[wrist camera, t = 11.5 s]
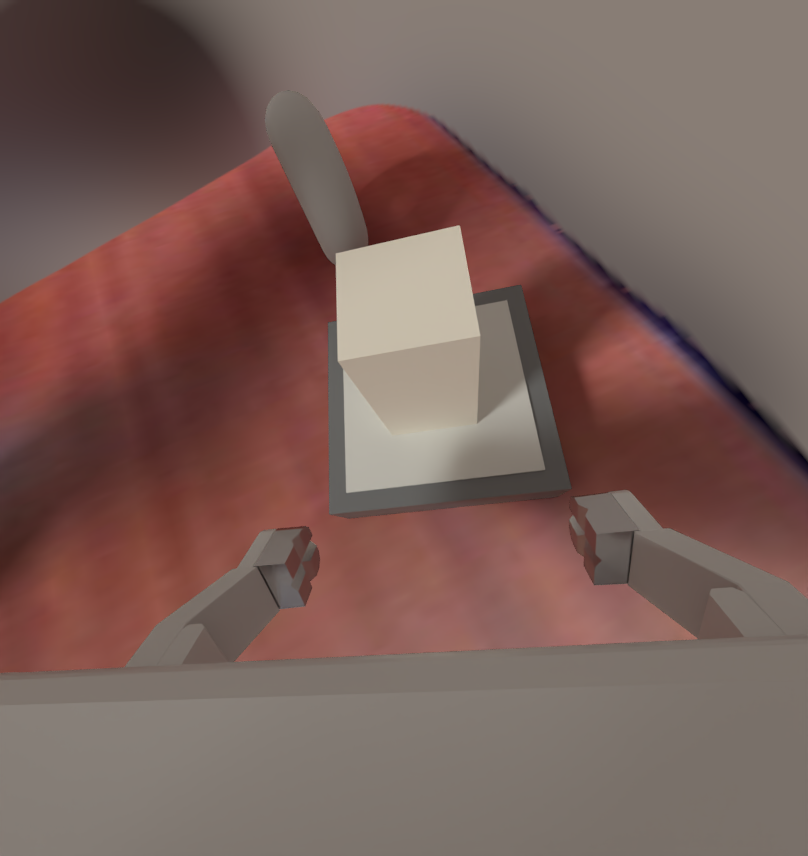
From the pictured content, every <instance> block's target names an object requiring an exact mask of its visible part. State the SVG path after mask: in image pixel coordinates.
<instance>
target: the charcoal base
mask: <svg viewBox="0 0 808 856" xmlns="http://www.w3.org/2000/svg"><path fill="white" fill-rule="evenodd" d="M473 299H474V304H475V309H476V315H477V320H478V325H479V331H480V361H479V386H478V412H477V424H472V425H465V426H458V427H451V428H444V429H436V430H429V431H422V432H415V433H408V434H401V435H393V436H392V434H391V433H390V432H389V430H388V429H387V427H386V426H385V425H384V423H383V422H382V421H381V419H380V418H379V417H378V415H377V414H376V413H375V411H374V410H373V409H372V407H371V406H370V404H369V403H368V402H367V400H366V399H365V398H364V396H363V395H362V394H361V392H360V391H359V390H358V388H357V387H356V385H355V384H354V383H353V381H352V380H351V379H350V377H349V376H348V375H347V373H346V372H345V371H344V369H343V368H342V367H341V365H340V364H339V362H338V352H337V321H333V322H328V400H329V514H330V515H334V516H339V517H344V518H358V517H368V516H377V515H387V514H397V513H406V512H416V511H426V510H435V509H445V508H455V507H464V506H474V505H484V504H493V503H503V502H513V501H522V500H532V499H542V498H551V497H558V496H559V495H561V494H563V493H565V492H567V491H568V490H570V489H572V488H571V484H570V480H569V476H568V472H567V468H566V464H565V459H564V455H563V451H562V447H561V443H560V439H559V435H558V431H557V427H556V423H555V419H554V415H553V411H552V407H551V403H550V399H549V395H548V391H547V387H546V383H545V379H544V375H543V371H542V367H541V363H540V359H539V355H538V351H537V347H536V343H535V339H534V335H533V331H532V326H531V322H530V318H529V314H528V310H527V306H526V302H525V298H524V294H523V290H522V286H521V285H517V286H512V287H507V288H502V289H497V290H491V291H486V292H481V293H476V294H473Z"/></svg>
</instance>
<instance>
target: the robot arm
mask: <svg viewBox="0 0 808 856" xmlns="http://www.w3.org/2000/svg"><path fill="white" fill-rule="evenodd" d="M569 508H570V510H571V512H572V514H573V516H572V517H571V518H570V520H569V529H570V535H571V539H572V542H573V545H574V547H575V549H576V551H577V553H579V554H580V555H582V556H583V557H584V567H585V569H586V571H587V573H588V575H589V577H590V579H591V581H592V583H593V584H594V585H610V584H628V585H629V586H630V587H631V588H632V589H634V590H635V591H636V592H638V593H639V594H640V595H642V596H643V597H644V598H646V599H647V600H648V601H649V602H651V603H652V604H653V605H655V606H656V607H657V608H659V609H660V610H661V611H663V612H664V613H665V614H667V615H668V616H669V617H670V618H672V619H673V620H674V621H676V622H677V623H678V624H680V625H681V626H682V627H684V628H685V629H686V630H688V631H689V632H690V633H691V634H693V635H694V636H695V637H697V638H698V639H696V640H675V641H655V642H634V643H613V644H592V645H572V646H551V647H531V648H511V649H490V650H470V651H449V652H429V653H408V654H387V655H367V656H346V657H326V658H305V659H285V660H264V661H244V662H234V661H235V660H236V659H237V658H238V657H239V655H240V654H241V653H242V652H243V651H244V650H245V649H246V648H247V647H248V645H249V644H250V643H251V642H252V641H253V640H254V639H255V638H256V636H257V635H258V634H259V633H260V632H261V631H262V630H263V629H264V628H265V626H266V625H267V624H268V623H269V622H270V621H271V620H272V619H273V617H274V616H275V615H276V614H277V613H278V612H279V611H280V610H279V609H285V608H294V607H304V606H306V603H307V600H308V598H309V595H310V592H311V590H312V586H311V583H310V581H311V580H312V579H313V578H314V577H316V576H317V573H318V570H319V566H320V555H319V550H318V548H317V545H315V544H314V543H313V542H311V541H310V540H311V537H312V533H311V531H310V529H309V527H306V526H300V527H289V528H278V529H269V530H263V531H261V532H260V533H259V535H258V536H257V538H256V539H255V541H254V542H253V544H252V546H251V547H250V549H249V550H248V552H247V553H246V555H245V557H244V558H243V560H242V561H241V563H240V564H239V566H238V567H237V569H232V570H230V571H229V572H228V573H226V574H225V575H224V576H222V577H221V578H220V579H218V580H217V581H216V582H214V583H213V584H211V585H210V586H209V587H207V588H206V589H205V590H203V591H202V592H201V593H199V594H198V595H197V596H195V597H194V598H192V599H191V600H190V601H188V602H187V603H186V604H184V605H183V606H182V607H180V608H179V609H178V610H176V611H175V612H173V613H172V614H171V615H169V616H168V617H167V618H165V619H164V620H163V621H161V622H160V623H159V624H157V625H156V626H155V627H154V629H153V630H152V631H151V633H150V634H149V635H148V637H147V638H146V639H145V641H144V642H143V643H142V645H141V646H140V647H139V649H138V650H137V651H136V653H135V654H134V655H133V656H132V658H131V659H130V660H129V662H128V663H127V664H126V666H125V667H122V668H102V669H81V670H61V671H41V672H10V673H0V856H808V599H807V598H806V597H805V596H804V595H802V594H801V593H800V592H799V591H798V590H797V589H796V588H795V587H793V586H792V585H791V584H790V583H789V582H787V581H785V580H783V579H780V578H778V577H776V576H774V575H772V574H769V573H767V572H765V571H763V570H761V569H758V568H756V567H754V566H752V565H750V564H747V563H745V562H743V561H741V560H739V559H736V558H734V557H732V556H730V555H728V554H725V553H723V552H721V551H719V550H716V549H714V548H712V547H710V546H708V545H705V544H703V543H701V542H699V541H697V540H694V539H692V538H690V537H688V536H686V535H683V534H681V533H679V532H677V531H675V530H672V529H670V528H665V529H663V528H662V527H661V526H660V524H659V523H658V522H657V521H656V520H655V519H654V518H653V517H652V515H651V514H650V513H649V512H648V511H647V510H646V509H645V508H644V506H643V505H642V504H641V503H640V502H639V501H638V500H637V498H636V497H635V496H634V495H633V494H632V493H631V492H630V491H628V490H619V491H612V492H607V493H599V494H590V495H582V496H573V497H571V498H570V501H569Z"/></svg>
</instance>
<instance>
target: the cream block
mask: <svg viewBox="0 0 808 856" xmlns="http://www.w3.org/2000/svg"><path fill="white" fill-rule="evenodd" d="M336 299H337V352H338V362H339V364H340V365H341V367H342V368H343V369H344V371H345V372H346V373H347V375H348V376H349V377H350V379H351V380H352V381H353V383H354V384H355V385H356V387H357V388H358V390H359V391H360V392H361V394H362V395H363V396H364V398H365V399H366V400H367V402H368V403H369V404H370V406H371V407H372V409H373V410H374V411H375V413H376V414H377V415H378V417H379V418H380V419H381V421H382V422H383V423H384V425H385V426H386V427H387V429H388V430H389V432H390V433H391V434H392V436H393V435H401V434H408V433H415V432H422V431H429V430H436V429H444V428H451V427H458V426H465V425H472V424H477V412H478V386H479V361H480V331H479V325H478V320H477V315H476V309H475V304H474V299H473V293H472V288H471V283H470V277H469V272H468V267H467V261H466V256H465V250H464V245H463V240H462V234H461V229H460V225H458V226H454V227H450V228H445V229H441V230H436V231H432V232H428V233H423V234H419V235H414V236H410V237H406V238H401V239H397V240H393V241H388V242H384V243H379V244H375V245H371V246H366V247H362V248H357V249H353V250H349V251H344V252H340V253H336Z"/></svg>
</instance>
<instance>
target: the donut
mask: <svg viewBox="0 0 808 856" xmlns="http://www.w3.org/2000/svg"><path fill="white" fill-rule="evenodd" d="M265 123H266V131H267V134H268V137H269V140H270V143H271V145H272V147H273V149H274V151H275V153H276V155H277V157H278V159H279V161H280V163H281V165H282V168H283V170H284V172H285V174H286V176H287V178H288V180H289V182H290V184H291V186H292V188H293V190H294V192H295V194H296V196H297V198H298V201H299V203H300V205H301V207H302V209H303V211H304V213H305V215H306V217H307V219H308V221H309V223H310V225H311V227H312V229H313V231H314V233H315V236H316V238H317V240H318V242H319V244H320V246H321V248H322V250H323V252H324V254H325V255H326V257H327V258H328V260H330V261H331V262H332V263H333V264H334V265H336V253H340V252H344V251H349V250H353V249H357V248H362V247H366V246H368V233H367V228H366V224H365V221H364V217H363V214H362V211H361V208H360V205H359V202H358V199H357V196H356V193H355V190H354V188H353V185H352V182H351V180H350V177H349V174H348V172H347V170H346V167H345V165H344V162H343V160H342V158H341V155H340V153H339V151H338V149H337V146H336V144H335V142H334V140H333V138H332V136H331V134H330V131H329V129H328V127H327V125H326V124H325V122H324V120H323V118H322V116H321V114H320V113H319V111H318V110H317V109H316V108H315V107H314V105H313V104H312V103H311V102H310V101H309V100H308V98H306V97H305V96H303V95H302V94H300V93H298V92H295V91H290V90H287V91H283V92H279V93H278V94H277V95H275V96H274V97H273V98H272V99H271V101H270V103H269V105H268V106H267V110H266V116H265Z"/></svg>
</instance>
